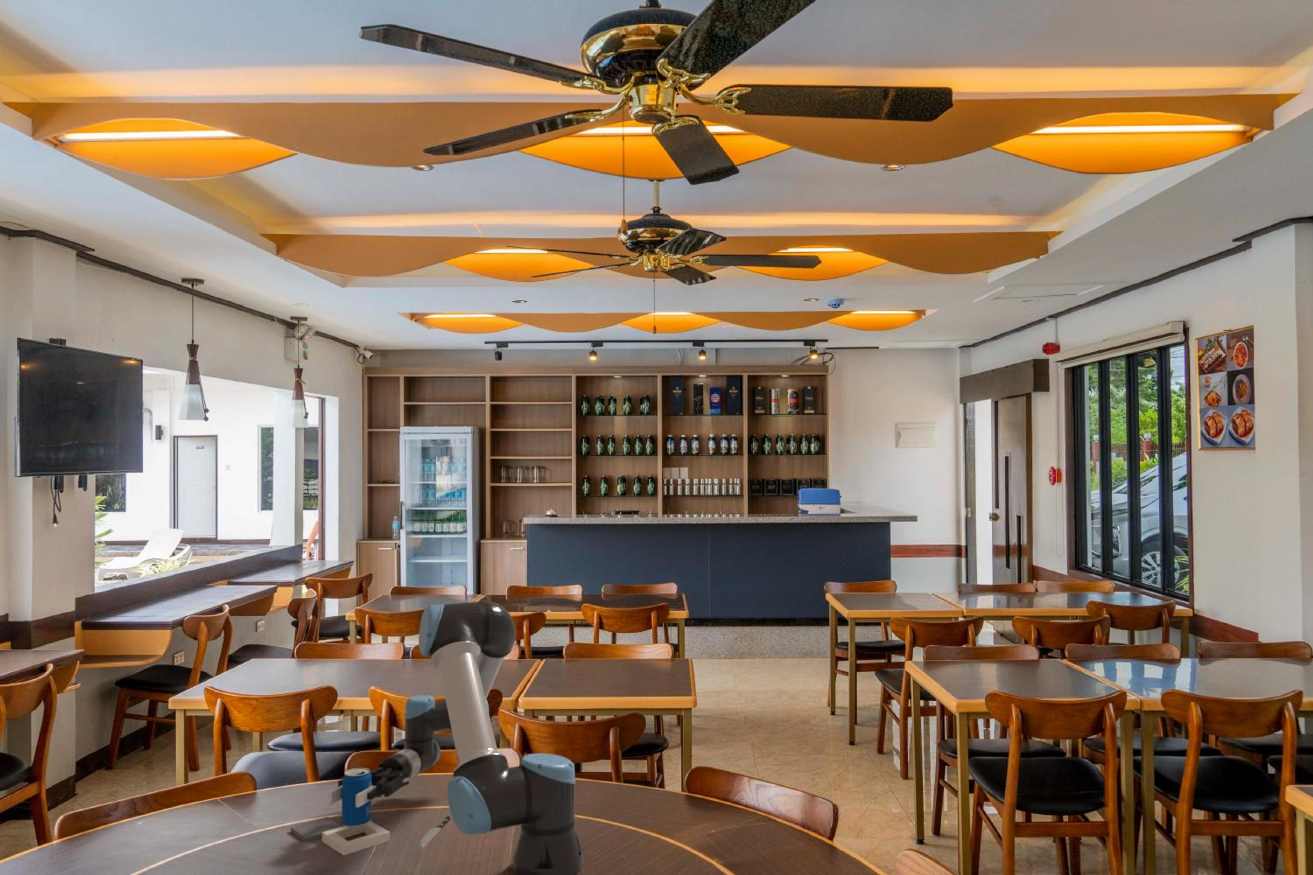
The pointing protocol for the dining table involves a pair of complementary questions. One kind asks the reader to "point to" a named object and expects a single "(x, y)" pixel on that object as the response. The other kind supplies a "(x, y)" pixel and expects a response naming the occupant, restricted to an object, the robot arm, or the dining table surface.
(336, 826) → the coaster
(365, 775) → the beverage can
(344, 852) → the can holder
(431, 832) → the chef's knife
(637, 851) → the dining table surface
